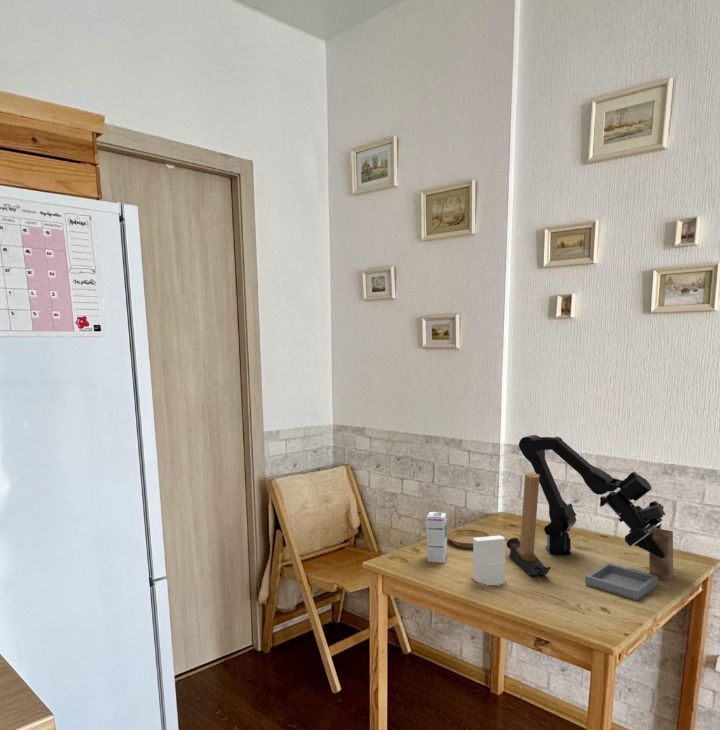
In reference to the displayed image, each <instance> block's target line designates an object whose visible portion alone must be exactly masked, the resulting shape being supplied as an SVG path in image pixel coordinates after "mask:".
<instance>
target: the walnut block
mask: <svg viewBox="0 0 720 730" xmlns="http://www.w3.org/2000/svg"><path fill="white" fill-rule="evenodd" d="M651 532H653V540H654V541H655V543H656V544H657V545H658V547H659V548H660V549H661V551H662V552H663V554H664V555H665V557H664V558H660V557H658V556H656V555H654V554H652V553H650V552H648V554H649V555H648V556H649V560H648V561H649V568H648V569H649V573H648V574H650V575H654V576H657V577H658V580H659V579H660V580H664V581H667V582H669V581H670V580H671V579H672V577H674V531H673V530H668V529H663V528H661V529H658V528H653V529H652V530H651V531H650V532H649V533H651Z"/></svg>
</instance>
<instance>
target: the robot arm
mask: <svg viewBox="0 0 720 730" xmlns="http://www.w3.org/2000/svg"><path fill="white" fill-rule="evenodd" d="M518 448H519V450H520V451H521V453H522V455H523V457H524V458H525V459H527V461H528V462H529V464H531V466H532V468H533V471H534V473H536V474H539V475H540V476H539V486H540V488H541V490H542V492H543V494H544V497H545V500H546V501H547V504H548V517H549V519H550V523H548V524H547V525H545V526H544V527H543V530H544V533H545V535H546V546H545V549H546V550H547V553H549V554H550V555H564V556H565V555H569V556H570V555H571V554H572V553H571V546H572V545H571V542H572V541H571V538H570V533H568V532H570V531H571V530H572V529H571V528H572V527H574V526H575V524H576V522H577V517H576V516H577V513H576V511H575V510H574V508H573V507H574V506H573V504H572V503H569V504H567V503H566V502H565V501H564V500H563V498H562V495H561V493H560V490H559V488H558V485H557V483H556V481H555V478H554V476H553V475H552V472H551V470H550V468H549V465H548V463H547V460H546V451H553V452H554V453H555V454H556V455H557V456H559V457H560V458H561V459H562V460H563V461H564V462H565V463H566V464H567V465H569V466H570V467H571V468H572V469H573V470H574V471H575V472H576V473H578V474H579V475H580V476H581V478H582V479H583V482H584V483H585V485H586V486H587V488H589V490H591V492H592V493H593V494H596V495H597V496H598V495H599V496H600V495H602V496H600V497H599V500H600V502H599V507H600V508H601V507H603V506H605V505H606V504H607V505H608V506H609V507H610V509H612V510H613V512H614V513H615V514H616V515H617V516H618V517H619V518H618V521H619V522H620V523H624V524H625V525H626V526H627V527H628V528H629V529H630V530H628V532H629V533H628V534H626V535H625V536H624V542H625V543H626V544H627V545H628V546H629V547H631V546H632V545H633V546H635V547H638V548H640V549H641V550H643V551H647V552H648V553H649V552H650V553H652V554H654V555H656V556H658V557H660V558H664V557H665V555H664V554H663V552H662V551H661V549H660V548H659V547H658V545H657V544H656V543H655V541H654V540H653V532H651V533H649V532H650V531H651V530H652V529H653V528H658V529H662V525H663V524H662V523H661V522H662V521H663V517H664V516H666V512H665V511H664V505H662V504H661V503H659V502H658V501H656V500H654V501H651V502H649V504H648V505H649V506H647V507H644V508H642V507H641V506H640V505H635V504H634V503H633V502H632V501H636V502H637V501H638V500H640V499H641V498H642V497H644V496H646V494H647V493H649V492H650V491H652V489H653V488H652V485H651V484H650V482H649V481H648V480H647V479H646V478H644V477H643V476H641V475H640V474H637V472H635V471H632V472H631V473H630V474H628V476H627V477H625V478H624V479H623V480H622V479H618V478H614V477H612V476H611V475H610V474H609V473H607V472H605V471H604V470H602V469H600V468H598V467H596V466H594V465H592V464H590V463H589V462H588V461H587V460H586V459H585V458H584V457H583V456H581V455H580V454H579V453H578V452H576V450H575V449H573V448H572V447H571V446H570V445H569V444H567V443H566V442H565V441H564V440H563V439H562V438H561V436H553V437H551V436H542V437H541V436H539V435H538V434H537V435H536V434H530V435H527V436H524V437H522V438H521V439H520V440H519V443H518ZM617 489H619V490H618V491H617V492H616V490H617ZM607 493H609V494H607ZM605 494H607V495H605ZM604 495H605V496H604ZM658 524H659V525H658Z"/></svg>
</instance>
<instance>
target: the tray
mask: <svg viewBox="0 0 720 730" xmlns="http://www.w3.org/2000/svg"><path fill="white" fill-rule="evenodd" d="M584 577H585V578H584V579H585V586H587V587H590V588H593V589H598V590H601V591H604V592H607V593H610V594H613V595H617V596H620V597H623V598H627V599H629V600H633V601H635V602H639V601H640V600H641V599H643V598H644V597H646V596H647V595H648V594H649V593H651V591H653V590H654V589H655V588H657V587H658V586H659V578H658V577H657V576H654V575H650V574H649V573H646V572H641V571H639V570H636V569H635V570H634V569H632V568H631V569H630V568H627V567H623V566H621V565H617V564H612V563H608V562H606V563H604V564H603V565H602V566H600V567H598V568H597V569H595V570H593V571H592V572H590V573H588V574H587V575H585V576H584Z"/></svg>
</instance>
